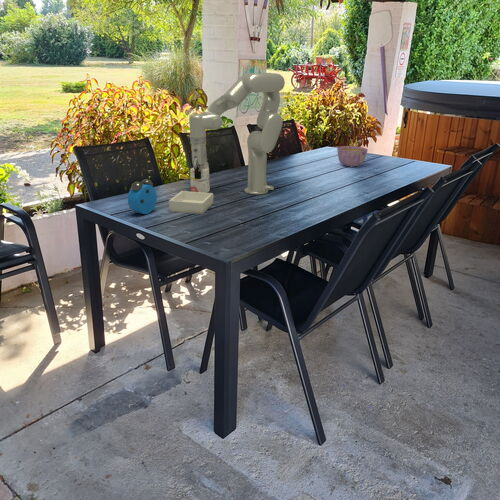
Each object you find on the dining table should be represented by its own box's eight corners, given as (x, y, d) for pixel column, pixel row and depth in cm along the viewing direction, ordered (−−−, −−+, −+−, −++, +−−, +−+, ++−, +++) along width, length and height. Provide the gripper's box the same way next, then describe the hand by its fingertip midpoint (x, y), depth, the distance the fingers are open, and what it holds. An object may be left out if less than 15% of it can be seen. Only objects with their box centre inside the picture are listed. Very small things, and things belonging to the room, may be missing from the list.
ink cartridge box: (190, 192, 249) (189, 163, 244) (194, 189, 254) (193, 161, 248) (206, 193, 247) (205, 164, 241) (210, 191, 251) (209, 162, 245)
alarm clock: (147, 208, 231) (146, 176, 226) (158, 210, 228) (156, 178, 223) (128, 215, 221) (126, 182, 215) (139, 218, 218) (137, 184, 212)
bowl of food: (368, 169, 323) (370, 151, 319) (337, 168, 323) (339, 151, 319) (362, 163, 342) (364, 146, 338) (333, 162, 342) (335, 145, 338)
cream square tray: (213, 203, 242) (213, 193, 240) (202, 214, 225) (202, 203, 224) (181, 200, 245) (181, 190, 243) (169, 211, 228) (168, 200, 226)
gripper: (200, 144, 232) (202, 181, 239) (210, 137, 248) (211, 173, 254) (185, 143, 233) (187, 181, 240) (196, 137, 249) (197, 172, 256)
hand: (199, 176), depth 247 cm, fingers closed on ink cartridge box, 5 cm apart
